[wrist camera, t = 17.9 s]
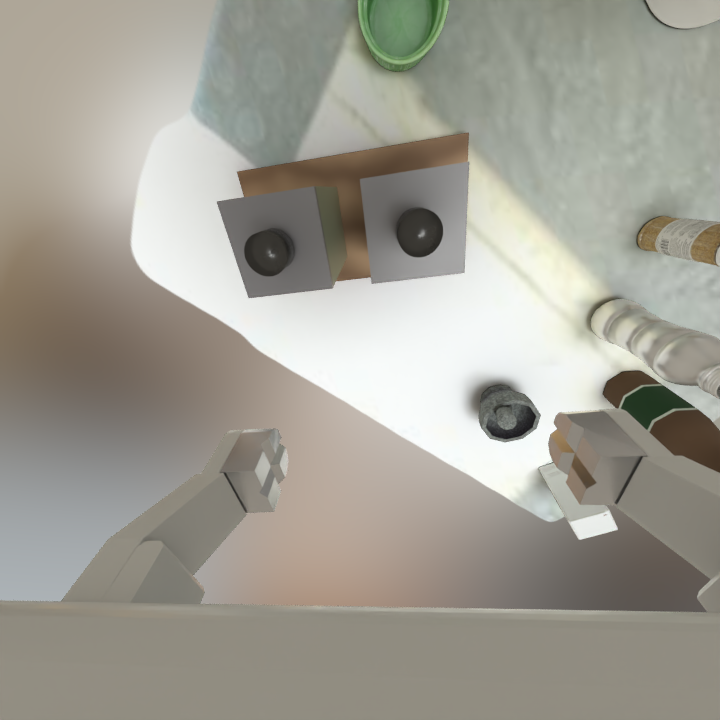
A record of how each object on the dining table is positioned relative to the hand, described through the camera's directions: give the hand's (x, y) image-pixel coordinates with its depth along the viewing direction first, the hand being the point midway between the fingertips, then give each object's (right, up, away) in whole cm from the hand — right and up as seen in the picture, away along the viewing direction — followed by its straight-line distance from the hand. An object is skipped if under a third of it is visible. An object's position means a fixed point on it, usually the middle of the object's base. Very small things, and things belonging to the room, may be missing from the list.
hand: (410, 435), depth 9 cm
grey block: (+4, +22, +32) cm, 39 cm away
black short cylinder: (+4, +22, +32) cm, 39 cm away
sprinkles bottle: (+40, +20, +33) cm, 56 cm away
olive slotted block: (-8, +21, +33) cm, 40 cm away
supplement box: (+44, -23, +58) cm, 76 cm away
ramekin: (+3, +40, +24) cm, 46 cm away
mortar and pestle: (+25, -5, +48) cm, 54 cm away
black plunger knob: (-8, +21, +33) cm, 40 cm away
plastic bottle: (+39, +10, +39) cm, 56 cm away
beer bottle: (+48, -3, +46) cm, 66 cm away
